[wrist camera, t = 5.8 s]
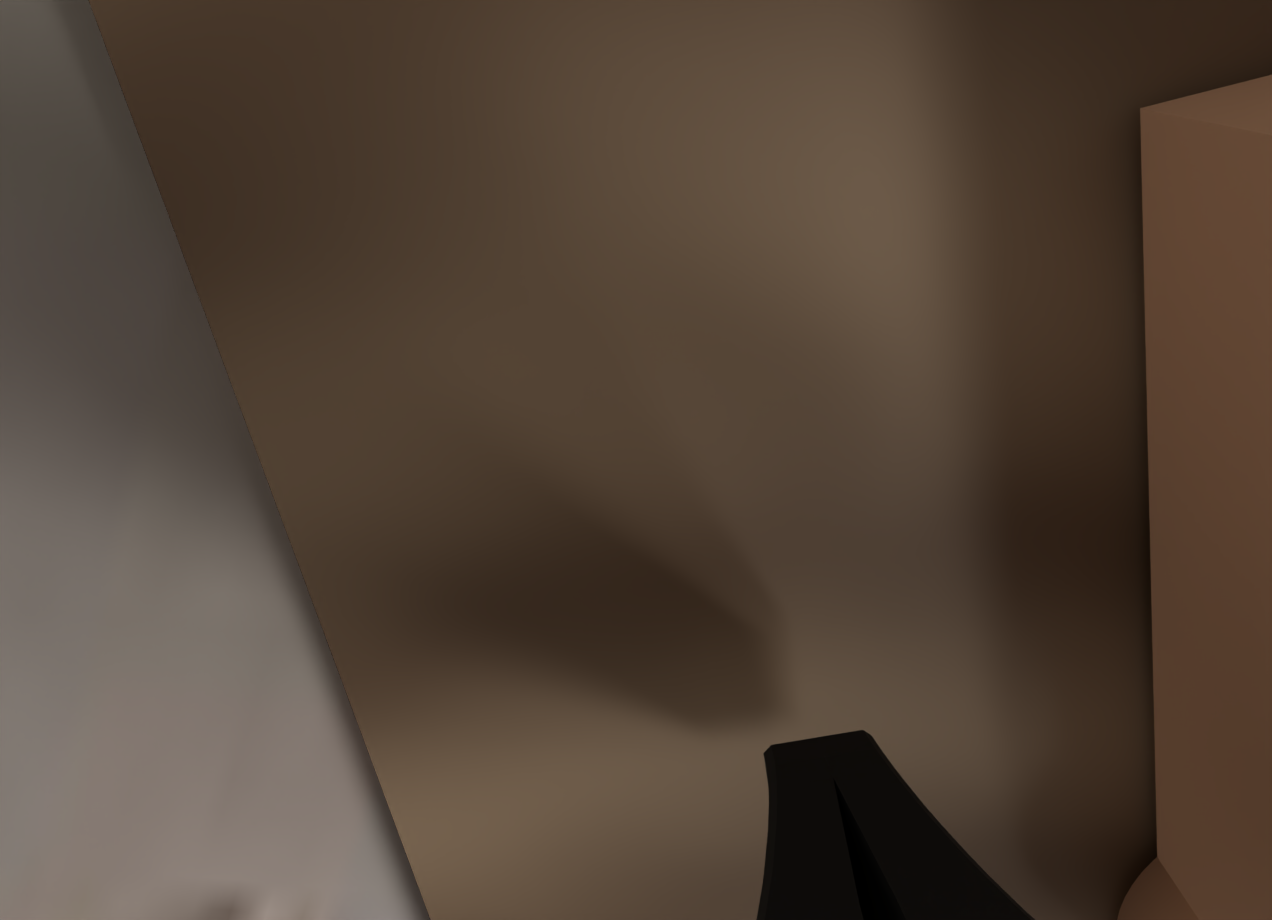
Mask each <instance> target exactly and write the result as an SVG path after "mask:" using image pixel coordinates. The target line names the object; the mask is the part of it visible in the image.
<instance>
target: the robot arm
mask: <svg viewBox="0 0 1272 920" xmlns="http://www.w3.org/2000/svg"><path fill="white" fill-rule="evenodd" d="M763 754H764V760H765V767H766V774H767V781H768V789H769V813H768V835H767V845H766V856H765V866H764V876H763V883H762V890H761V896H760V902H759V908H758V914H757V920H1035V919H1034V918H1033V917H1032V916H1031V915H1030V914H1029V913H1027V912H1026V911H1025V910H1024V909H1023V908H1022V907H1021V906H1020V905H1019V904H1018V903H1017V902H1016V901H1015V900H1014V899H1013V898H1012V897H1011V896H1010V895H1009V894H1008V893H1007V892H1005V891H1004V890H1003V889H1002V888H1001V887H1000V886H999V885H998V884H997V883H996V882H995V881H994V880H993V879H992V878H991V877H990V876H989V875H988V874H987V873H986V872H985V871H984V870H983V869H982V868H981V867H980V866H979V865H978V863H977V862H976V861H975V860H974V859H973V858H972V857H971V856H970V855H969V854H968V853H967V852H966V851H965V850H964V849H963V848H962V846H961V845H960V844H959V843H958V842H957V841H956V840H955V839H954V838H953V837H952V836H951V834H950V833H949V832H948V831H947V830H946V829H945V828H944V827H943V826H942V825H941V823H940V822H939V821H938V820H937V819H936V818H935V817H934V816H933V814H932V813H931V812H930V811H929V810H928V809H927V807H926V806H925V805H924V804H923V803H922V801H921V800H920V799H919V798H918V797H917V795H916V794H915V793H914V792H913V790H912V789H911V788H910V787H909V786H908V784H907V783H906V782H905V781H904V779H903V778H902V777H901V775H900V774H899V773H898V772H897V770H896V769H895V768H894V766H893V765H892V764H891V762H890V761H889V760H888V758H887V757H886V755H885V754H884V753H883V751H882V750H881V748H880V747H879V746H878V744H877V743H876V741H875V740H874V738H873V736H872V735H870V734H869V733H867V732H866V731H864V730H858V731H852V732H846V733H840V734H834V735H828V736H822V737H816V738H810V739H804V740H798V741H792V742H786V743H780V744H774V745H771V746H770V747H769V748H768V749H767V750H766V751H765V752H764V753H763Z"/></svg>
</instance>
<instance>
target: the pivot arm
mask: <svg viewBox="0 0 1272 920" xmlns="http://www.w3.org/2000/svg"><path fill="white" fill-rule="evenodd" d="M1140 125H1141V169H1142V212H1143V256H1144V300H1145V344H1146V387H1147V431H1148V475H1149V519H1150V562H1151V606H1152V650H1153V694H1154V737H1155V781H1156V825H1157V858H1155V859H1154V860H1153V861H1152V862H1151V863H1150V864H1149V865H1148V866H1147V867H1146V868H1145V869H1144V870H1143V872H1142V873H1141V874H1140V875H1139V877H1138V878H1137V879H1136V880H1135V882H1134V883H1133V884H1132V886H1131V888H1130V889H1129V891H1128V893H1127V894H1126V896H1125V898H1124V900H1123V903H1122V905H1121V908H1120V910H1119V914H1118V919H1117V920H1272V75H1268V76H1264V77H1260V78H1257V79H1253V80H1249V81H1245V82H1241V83H1237V84H1233V85H1229V86H1225V87H1221V88H1217V89H1214V90H1210V91H1206V92H1202V93H1198V94H1194V95H1190V96H1186V97H1182V98H1178V99H1174V100H1171V101H1167V102H1163V103H1159V104H1155V105H1151V106H1147V107H1143V108H1140Z"/></svg>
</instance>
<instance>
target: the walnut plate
mask: <svg viewBox="0 0 1272 920" xmlns="http://www.w3.org/2000/svg"><path fill="white" fill-rule="evenodd" d="M89 3H90V5H91V8H92V11H93V13H94V16H95V19H96V22H97V24H98V27H99V30H100V32H101V35H102V38H103V40H104V43H105V46H106V48H107V51H108V54H109V56H110V59H111V62H112V65H113V67H114V70H115V73H116V75H117V78H118V81H119V83H120V86H121V89H122V91H123V94H124V97H125V99H126V102H127V105H128V108H129V110H130V113H131V116H132V118H133V121H134V124H135V126H136V129H137V132H138V134H139V137H140V140H141V142H142V145H143V148H144V151H145V153H146V156H147V159H148V161H149V164H150V167H151V169H152V172H153V175H154V177H155V180H156V183H157V185H158V188H159V191H160V194H161V196H162V199H163V202H164V204H165V207H166V210H167V212H168V215H169V218H170V220H171V223H172V226H173V229H174V231H175V234H176V237H177V239H178V242H179V245H180V247H181V250H182V253H183V255H184V258H185V261H186V263H187V266H188V269H189V272H190V274H191V277H192V280H193V282H194V285H195V288H196V290H197V293H198V296H199V298H200V301H201V304H202V306H203V309H204V312H205V315H206V317H207V320H208V323H209V325H210V328H211V331H212V333H213V336H214V339H215V341H216V344H217V347H218V349H219V352H220V355H221V358H222V360H223V363H224V366H225V368H226V371H227V374H228V376H229V379H230V382H231V384H232V387H233V390H234V392H235V395H236V398H237V401H238V403H239V406H240V409H241V411H242V414H243V417H244V419H245V422H246V425H247V427H248V430H249V433H250V435H251V438H252V441H253V444H254V446H255V449H256V452H257V454H258V457H259V460H260V462H261V465H262V468H263V470H264V473H265V476H266V478H267V481H268V484H269V487H270V489H271V492H272V495H273V497H274V500H275V503H276V505H277V508H278V511H279V513H280V516H281V519H282V522H283V524H284V527H285V530H286V532H287V535H288V538H289V540H290V543H291V546H292V548H293V551H294V554H295V556H296V559H297V562H298V565H299V567H300V570H301V573H302V575H303V578H304V581H305V583H306V586H307V589H308V591H309V594H310V597H311V599H312V602H313V605H314V608H315V610H316V613H317V616H318V618H319V621H320V624H321V626H322V629H323V632H324V634H325V637H326V640H327V642H328V645H329V648H330V651H331V653H332V656H333V659H334V661H335V664H336V667H337V669H338V672H339V675H340V677H341V680H342V683H343V685H344V688H345V691H346V694H347V696H348V699H349V702H350V704H351V707H352V710H353V712H354V715H355V718H356V720H357V723H358V726H359V728H360V731H361V734H362V737H363V739H364V742H365V745H366V747H367V750H368V753H369V755H370V758H371V761H372V763H373V766H374V769H375V772H376V774H377V777H378V780H379V782H380V785H381V788H382V790H383V793H384V796H385V798H386V801H387V804H388V806H389V809H390V812H391V815H392V817H393V820H394V823H395V825H396V828H397V831H398V833H399V836H400V839H401V841H402V844H403V847H404V849H405V852H406V855H407V858H408V860H409V863H410V866H411V868H412V871H413V874H414V876H415V879H416V882H417V884H418V887H419V890H420V892H421V895H422V898H423V901H424V903H425V906H426V909H427V911H428V914H429V917H430V919H431V920H757V914H758V908H759V902H760V896H761V890H762V883H763V876H764V866H765V856H766V845H767V835H768V813H769V789H768V781H767V774H766V767H765V760H764V754H763V753H764V752H765V751H766V750H767V749H768V748H769V747H770V746H771V745H774V744H780V743H786V742H792V741H798V740H804V739H810V738H816V737H822V736H828V735H834V734H840V733H846V732H852V731H858V730H864V731H866V732H867V733H869V734H870V735H872V736H873V738H874V740H875V741H876V743H877V744H878V746H879V747H880V748H881V750H882V751H883V753H884V754H885V755H886V757H887V758H888V760H889V761H890V762H891V764H892V765H893V766H894V768H895V769H896V770H897V772H898V773H899V774H900V775H901V777H902V778H903V779H904V781H905V782H906V783H907V784H908V786H909V787H910V788H911V789H912V790H913V792H914V793H915V794H916V795H917V797H918V798H919V799H920V800H921V801H922V803H923V804H924V805H925V806H926V807H927V809H928V810H929V811H930V812H931V813H932V814H933V816H934V817H935V818H936V819H937V820H938V821H939V822H940V823H941V825H942V826H943V827H944V828H945V829H946V830H947V831H948V832H949V833H950V834H951V836H952V837H953V838H954V839H955V840H956V841H957V842H958V843H959V844H960V845H961V846H962V848H963V849H964V850H965V851H966V852H967V853H968V854H969V855H970V856H971V857H972V858H973V859H974V860H975V861H976V862H977V863H978V865H979V866H980V867H981V868H982V869H983V870H984V871H985V872H986V873H987V874H988V875H989V876H990V877H991V878H992V879H993V880H994V881H995V882H996V883H997V884H998V885H999V886H1000V887H1001V888H1002V889H1003V890H1004V891H1005V892H1007V893H1008V894H1009V895H1010V896H1011V897H1012V898H1013V899H1014V900H1015V901H1016V902H1017V903H1018V904H1019V905H1020V906H1021V907H1022V908H1023V909H1024V910H1025V911H1026V912H1027V913H1029V914H1030V915H1031V916H1032V917H1033V918H1034V919H1035V920H1117V919H1118V914H1119V910H1120V908H1121V905H1122V903H1123V900H1124V898H1125V896H1126V894H1127V893H1128V891H1129V889H1130V888H1131V886H1132V884H1133V883H1134V882H1135V880H1136V879H1137V878H1138V877H1139V875H1140V874H1141V873H1142V872H1143V870H1144V869H1145V868H1146V867H1147V866H1148V865H1149V864H1150V863H1151V862H1152V861H1153V860H1154V859H1155V858H1157V825H1156V781H1155V737H1154V694H1153V650H1152V606H1151V562H1150V519H1149V475H1148V431H1147V387H1146V344H1145V300H1144V256H1143V212H1142V169H1141V125H1140V108H1143V107H1147V106H1151V105H1155V104H1159V103H1163V102H1167V101H1171V100H1174V99H1178V98H1182V97H1186V96H1190V95H1194V94H1198V93H1202V92H1206V91H1210V90H1214V89H1217V88H1221V87H1225V86H1229V85H1233V84H1237V83H1241V82H1245V81H1249V80H1253V79H1257V78H1260V77H1264V76H1268V75H1272V0H89Z"/></svg>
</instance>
